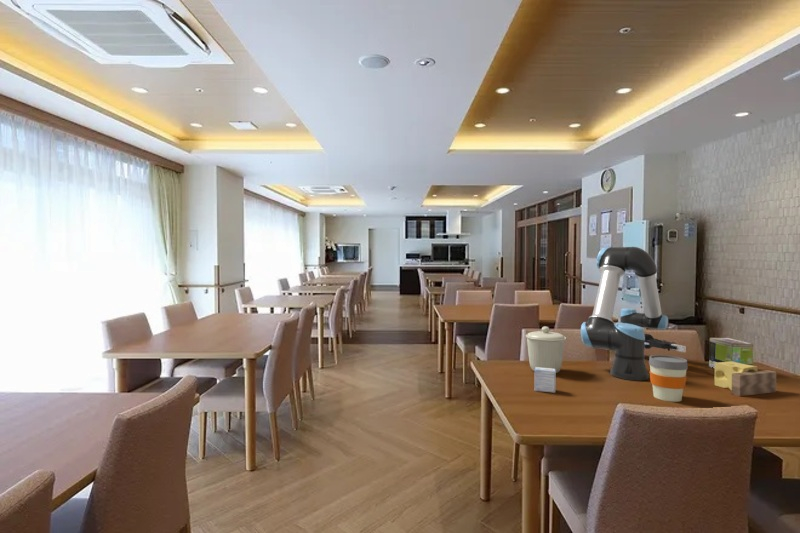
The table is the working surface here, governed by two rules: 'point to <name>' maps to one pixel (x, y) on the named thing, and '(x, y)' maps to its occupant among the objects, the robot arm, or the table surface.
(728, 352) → the tea box
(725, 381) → the cheese
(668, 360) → the reusable coffee cup
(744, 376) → the walnut board
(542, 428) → the table surface
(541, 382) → the medicine box
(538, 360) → the canister
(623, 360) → the robot arm
